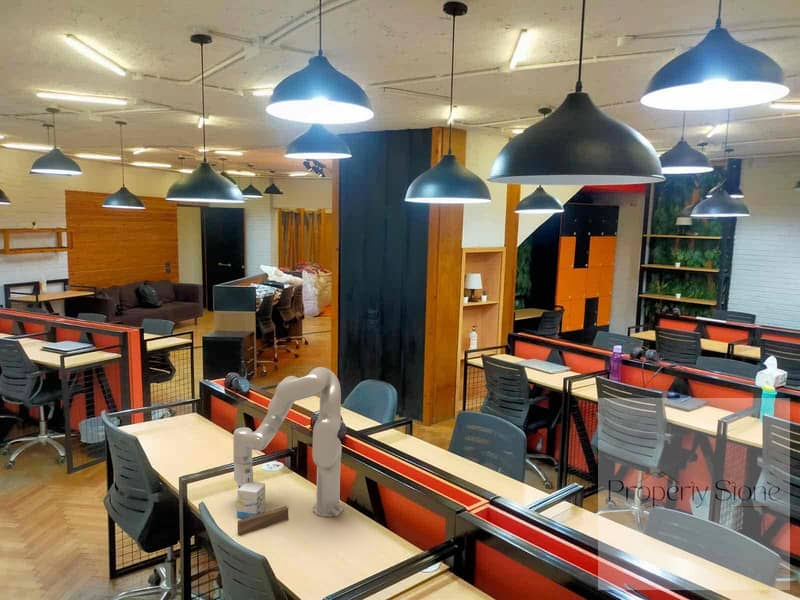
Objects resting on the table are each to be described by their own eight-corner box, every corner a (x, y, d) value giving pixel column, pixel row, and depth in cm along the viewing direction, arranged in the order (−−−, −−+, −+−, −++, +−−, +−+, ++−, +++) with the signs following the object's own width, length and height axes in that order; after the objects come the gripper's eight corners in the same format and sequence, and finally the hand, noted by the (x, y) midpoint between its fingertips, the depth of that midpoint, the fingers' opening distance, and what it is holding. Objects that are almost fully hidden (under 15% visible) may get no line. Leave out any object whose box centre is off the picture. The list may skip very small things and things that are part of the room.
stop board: (288, 519, 217) (288, 507, 217) (239, 535, 205) (239, 522, 204) (286, 517, 219) (286, 505, 218) (237, 533, 206) (237, 520, 206)
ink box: (256, 520, 216) (256, 492, 215) (236, 517, 218) (236, 489, 216) (265, 509, 224) (265, 482, 223) (246, 507, 226) (246, 480, 225)
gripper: (258, 462, 222) (258, 504, 224) (244, 450, 234) (244, 490, 236) (240, 466, 217) (240, 509, 220) (227, 453, 229) (227, 495, 231)
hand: (242, 499), depth 228 cm, fingers closed
